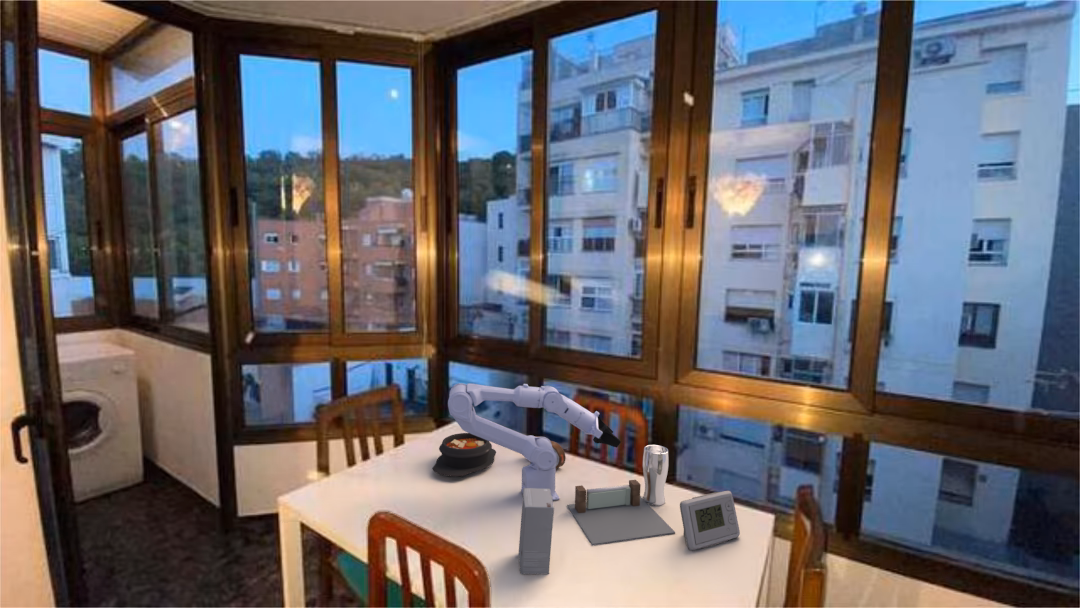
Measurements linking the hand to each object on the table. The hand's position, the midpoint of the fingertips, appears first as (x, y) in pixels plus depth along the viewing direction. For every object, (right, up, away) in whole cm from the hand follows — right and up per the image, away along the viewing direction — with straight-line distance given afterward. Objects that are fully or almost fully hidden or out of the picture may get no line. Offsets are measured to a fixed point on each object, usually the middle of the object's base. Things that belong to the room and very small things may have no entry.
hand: (614, 439), depth 142 cm
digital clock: (+20, -19, -22) cm, 35 cm away
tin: (-20, -14, +20) cm, 31 cm away
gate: (-3, -16, -8) cm, 18 cm away
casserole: (-46, -14, +18) cm, 51 cm away
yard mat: (-1, -17, -13) cm, 22 cm away
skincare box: (-23, -19, -33) cm, 44 cm away
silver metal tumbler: (+11, -17, -3) cm, 20 cm away
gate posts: (-3, -17, -8) cm, 19 cm away
